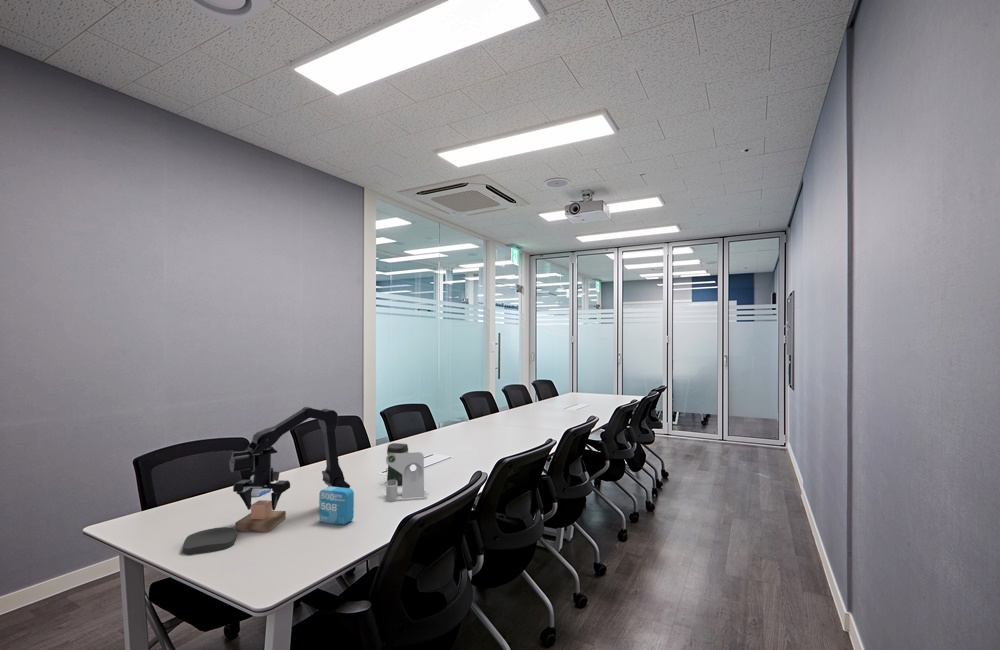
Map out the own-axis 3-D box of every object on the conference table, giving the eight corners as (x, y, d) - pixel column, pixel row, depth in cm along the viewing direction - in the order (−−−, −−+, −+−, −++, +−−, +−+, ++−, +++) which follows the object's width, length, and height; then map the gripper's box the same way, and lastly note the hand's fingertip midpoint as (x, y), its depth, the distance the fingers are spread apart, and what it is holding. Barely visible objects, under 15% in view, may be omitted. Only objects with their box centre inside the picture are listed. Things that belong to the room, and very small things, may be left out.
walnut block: (285, 519, 177) (285, 511, 177) (268, 531, 165) (268, 523, 165) (254, 518, 178) (254, 510, 178) (235, 531, 166) (235, 522, 166)
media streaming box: (179, 557, 146) (180, 548, 146) (189, 539, 160) (189, 530, 160) (233, 549, 152) (233, 540, 152) (238, 532, 166) (238, 524, 166)
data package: (318, 521, 175) (319, 489, 175) (326, 517, 179) (326, 485, 179) (346, 525, 171) (347, 492, 172) (353, 520, 176) (354, 488, 176)
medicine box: (258, 497, 202) (259, 476, 202) (249, 496, 203) (250, 476, 203) (271, 491, 210) (271, 471, 210) (262, 490, 211) (262, 471, 211)
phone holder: (385, 502, 196) (385, 458, 197) (385, 494, 206) (386, 453, 207) (427, 499, 200) (427, 456, 200) (425, 491, 210) (426, 451, 210)
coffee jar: (410, 481, 225) (410, 442, 226) (403, 486, 217) (403, 445, 218) (392, 479, 227) (392, 441, 228) (384, 484, 220) (384, 444, 220)
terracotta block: (271, 514, 174) (272, 500, 174) (264, 519, 169) (264, 505, 169) (258, 513, 174) (258, 500, 174) (250, 519, 169) (251, 505, 169)
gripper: (297, 461, 180) (297, 502, 179) (250, 460, 181) (249, 501, 180) (282, 469, 169) (282, 513, 168) (232, 468, 170) (231, 512, 169)
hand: (261, 509), depth 172 cm, fingers open, 9 cm apart
